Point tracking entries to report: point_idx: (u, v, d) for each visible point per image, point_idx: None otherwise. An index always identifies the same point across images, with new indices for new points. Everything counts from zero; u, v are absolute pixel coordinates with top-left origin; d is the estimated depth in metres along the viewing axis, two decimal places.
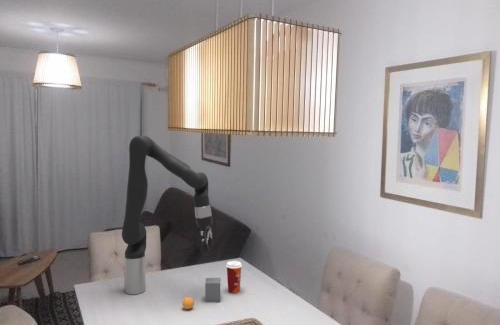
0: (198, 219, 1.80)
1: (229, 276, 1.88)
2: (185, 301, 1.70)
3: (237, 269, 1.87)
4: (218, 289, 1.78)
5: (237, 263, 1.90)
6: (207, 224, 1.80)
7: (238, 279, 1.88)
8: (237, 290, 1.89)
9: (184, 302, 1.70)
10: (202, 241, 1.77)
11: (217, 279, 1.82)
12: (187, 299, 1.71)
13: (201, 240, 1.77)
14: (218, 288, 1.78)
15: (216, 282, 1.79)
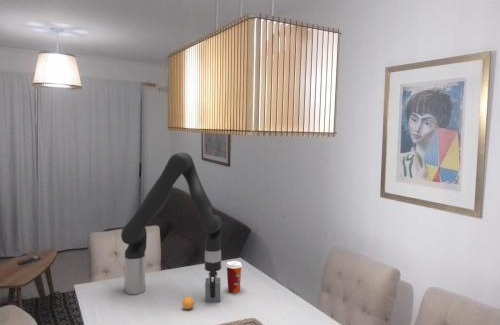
0: (208, 263, 1.77)
1: (229, 276, 1.88)
2: (185, 301, 1.70)
3: (237, 269, 1.87)
4: (218, 289, 1.78)
5: (237, 263, 1.90)
6: (217, 269, 1.78)
7: (238, 279, 1.88)
8: (237, 290, 1.89)
9: (184, 302, 1.70)
10: (211, 287, 1.76)
11: (217, 279, 1.82)
12: (187, 299, 1.71)
13: (210, 286, 1.75)
14: (218, 288, 1.78)
15: None
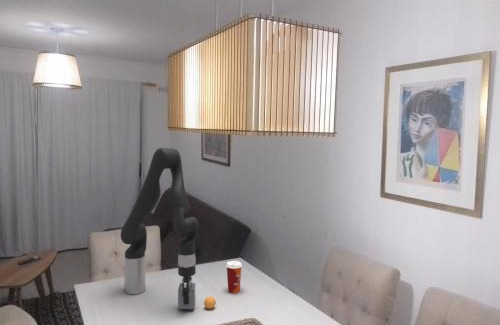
0: (181, 268, 1.67)
1: (229, 276, 1.88)
2: (209, 308, 1.71)
3: (237, 269, 1.87)
4: (192, 295, 1.68)
5: (237, 263, 1.90)
6: (191, 274, 1.68)
7: (238, 279, 1.88)
8: (237, 290, 1.89)
9: (211, 307, 1.71)
10: (184, 293, 1.65)
11: (192, 285, 1.72)
12: None
13: (183, 292, 1.65)
14: (192, 294, 1.68)
15: (190, 288, 1.69)
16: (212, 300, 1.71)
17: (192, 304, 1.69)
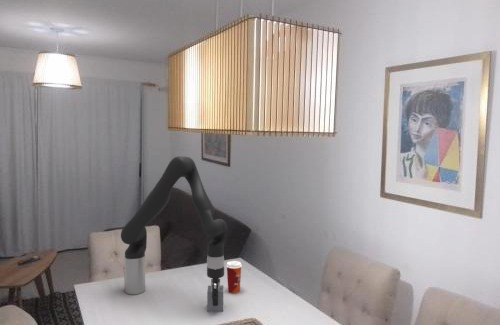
0: (211, 270, 1.68)
1: (229, 276, 1.88)
2: None
3: (237, 269, 1.87)
4: (221, 298, 1.69)
5: (237, 263, 1.90)
6: (220, 276, 1.69)
7: (238, 279, 1.88)
8: (237, 290, 1.89)
9: None
10: None
11: (220, 287, 1.73)
12: None
13: (213, 293, 1.66)
14: (221, 297, 1.69)
15: (219, 290, 1.70)
16: None
17: (221, 307, 1.69)
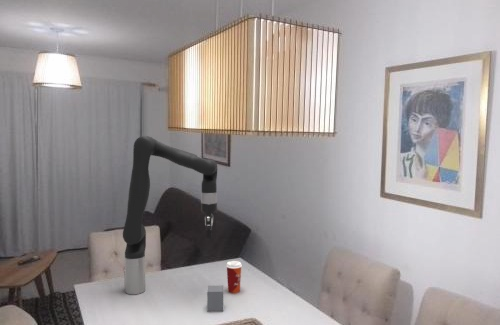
0: (205, 205, 1.82)
1: (229, 276, 1.88)
2: None
3: (237, 269, 1.87)
4: (221, 298, 1.69)
5: (237, 263, 1.90)
6: (213, 211, 1.83)
7: (238, 279, 1.88)
8: (237, 290, 1.89)
9: None
10: (207, 227, 1.80)
11: (220, 287, 1.73)
12: None
13: (206, 226, 1.80)
14: (221, 297, 1.69)
15: (219, 290, 1.70)
16: None
17: (221, 307, 1.69)
